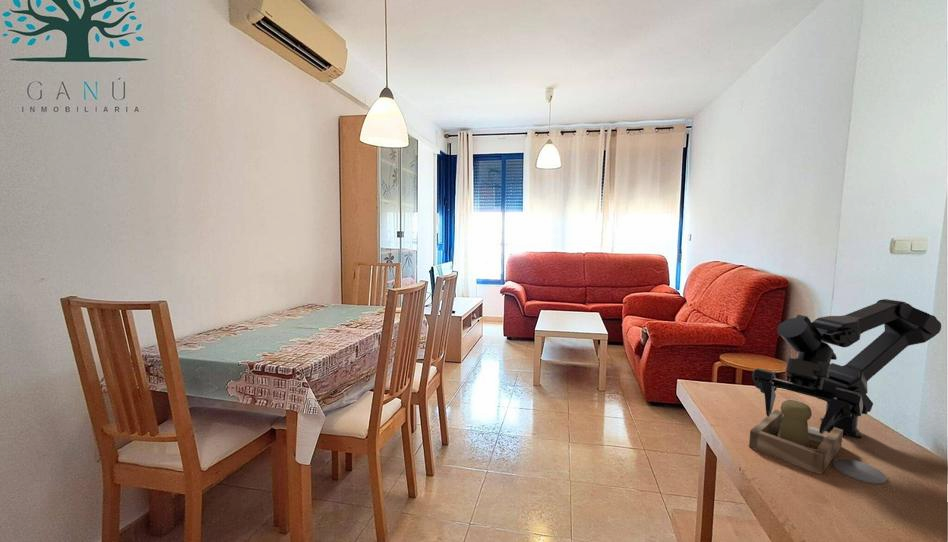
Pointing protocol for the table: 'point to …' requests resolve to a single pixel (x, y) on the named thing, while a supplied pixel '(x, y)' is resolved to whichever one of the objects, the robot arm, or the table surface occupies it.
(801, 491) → the table surface
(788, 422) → the olive knobbed peg
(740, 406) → the table surface
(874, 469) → the slate pad
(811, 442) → the light grey rectangular block
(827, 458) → the brown wooden rectangular frame
